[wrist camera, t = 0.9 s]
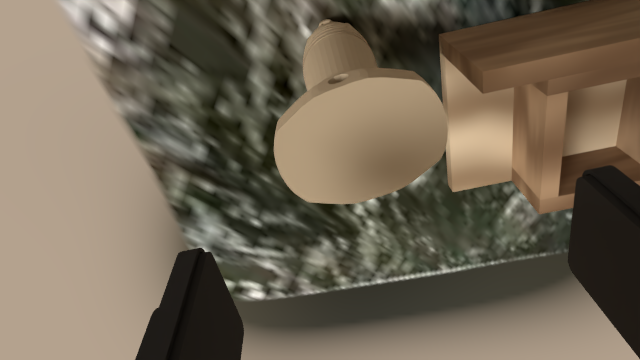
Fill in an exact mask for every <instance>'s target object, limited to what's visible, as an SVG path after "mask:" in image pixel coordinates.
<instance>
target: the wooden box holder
mask: <svg viewBox="0 0 640 360" xmlns="http://www.w3.org/2000/svg"><path fill="white" fill-rule="evenodd" d="M439 49H440V64H441V80H442V95H443V108H444V111H445V114H446V118H447V125H448V138H447V144H446V158H447V173H448V185H449V186H450V188H451V190H452V192H456V191H461V190H466V189H471V188H476V187H481V186H486V185H491V184H496V183H501V182H506V181H511V180H512V181H513V182H514V184H515V185H516V186H517V187H518V189H519V190H520V191H521V192H522V194H523V195H524V196H525V197H526V198H527V200H528V201H529V202H530V203H531V205H532V206H533V207H534V208H535V210H536V211H537V212H538V213H539V214H543V213H548V212H553V211H558V210H563V209H569V208H573V205H574V195H575V186H576V180H577V179H578V178H579V177H582V174H583V172H584V171H585V170H588V169H593V168H598V167H603V166H608V165H612V166H614V167H616V168H617V169H619V170H620V171H621V172H623V173H624V174H625V175H626V176H628V177H629V178H630V179H632V180H633V181H634V182H635V183H637V184H638V185H639V186H640V0H590V1H585V2H581V3H576V4H572V5H567V6H563V7H558V8H554V9H549V10H545V11H540V12H536V13H531V14H527V15H522V16H518V17H513V18H509V19H504V20H500V21H495V22H491V23H486V24H482V25H478V26H473V27H469V28H464V29H460V30H455V31H451V32H446V33H442V34H439Z"/></svg>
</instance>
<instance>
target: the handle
mask: <svg viewBox="0 0 640 360" xmlns="http://www.w3.org/2000/svg"><path fill="white" fill-rule="evenodd" d="M303 74H304V79H305V83H306V87H307V92H306V93H305V94H303V95H302V96H301V97H300V98H299V99H298V100H297V101H296V102H295V103H294V104H293V105H292V106H291V107H290V108H289V109H288V110H287V111H286V112H285V113H284V114H283V116H282V117H281V118H280V119H279V120H278V122H277V127H276V132H275V141H274V155H275V160H276V164H277V167H278V169H279V172H280V174H281V176H282V178H283V179H284V181H285V183H286V184H287V185H288V186H289V188H290V189H291V190H292V191H293V192H294V193H295V194H297V195H298V196H299V197H301V198H302V199H304V200H306V201H307V202H313V203H329V204H352V203H358V202H363V201H367V200H370V199H373V198H376V197H379V196H382V195H386V194H389V193H392V192H394V191H396V190H399V189H401V188H403V187H405V186H406V185H408V184H409V183H411V182H413V181H414V180H415V179H417V178H418V177H419V176H420V175H422V174H423V173H424V172H425V171H427V170H428V169H429V168H430V167H431V166H433V165H434V164H435V163H436V162H437V161H439V160H440V159H441V157H442V155H443V153H444V150H445V147H446V144H447V138H448V125H447V118H446V114H445V111H444V108H443V105H442V103H441V101H440V99H439V98H438V96H437V94H436V93H435V91H434V90H433V89H432V88H431V87H430V85H429V84H428V83H427V82H426V81H425V80H424V79H423V78H422V77H420V76H419V75H418V74H416V73H415V72H414V71H407V70H399V69H389V68H378V67H377V64H376V60H375V57H374V54H373V52H372V50H371V48H370V46H369V45H368V43H367V41H366V40H365V39H364V38H363V36H362V35H361V34H360V33H359V32H358V31H357V30H355V29H354V28H353V27H352V26H351V25H350V24H349V23H341V22H333V21H331V20H330V19H325V20H323V21H321V22H320V23H319V27H318V28H317V29H316V30H315V31H314V32H313V33H312V35H311V36H310V37H309V38H308V39H307V44H306V47H305V51H304V56H303Z"/></svg>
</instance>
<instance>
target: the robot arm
mask: <svg viewBox="0 0 640 360" xmlns="http://www.w3.org/2000/svg"><path fill="white" fill-rule="evenodd" d="M568 263H569V266H570V269H571V271H572V273H573V274H574V275H575V277H576V278H577V279H578V281H579V282H580V283H581V284H582V286H583V287H584V288H585V290H586V291H587V292H588V293H589V295H590V296H591V297H592V298H593V300H594V301H595V302H596V303H597V305H598V306H599V307H600V309H601V310H602V311H603V312H604V314H605V315H606V316H607V318H608V319H609V320H610V321H611V323H612V324H613V325H614V327H615V328H616V329H617V330H618V332H619V333H620V334H621V336H622V337H623V338H624V339H625V341H626V342H627V343H628V344H629V346H630V347H631V348H632V350H633V351H634V352H635V353H636V355H637V356H638V357H639V359H640V186H639V185H638V184H637V183H635V182H634V181H633V180H632V179H630V178H629V177H628V176H626V175H625V174H624V173H623V172H621V171H620V170H619V169H617V168H616V167H614V166H612V165H608V166H603V167H598V168H593V169H588V170H585V171H584V172H583V174H582V177H579V178H578V179H577V180H576V186H575V195H574V205H573V214H572V224H571V233H570V243H569V252H568ZM243 336H244V328H243V323H242V320H241V317H240V315H239V313H238V311H237V309H236V306H235V304H234V302H233V299H232V297H231V295H230V293H229V290H228V288H227V286H226V284H225V281H224V279H223V277H222V275H221V273H220V270H219V268H218V266H217V264H216V261H215V259H214V257H213V255H212V253H211V252H205V251H204V250H203V249H202V248H197V249H192V250H187V251H182V252H180V253H178V255H177V258H176V261H175V264H174V267H173V269H172V272H171V275H170V278H169V281H168V283H167V286H166V289H165V292H164V295H163V298H162V300H161V303H160V306H159V308H157V309H156V310H155V311H154V312H153V314H152V316H151V318H150V321H149V324H148V326H147V329H146V332H145V335H144V337H143V340H142V343H141V346H140V348H139V351H138V354H137V356H136V359H135V360H241V352H242V344H243Z"/></svg>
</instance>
